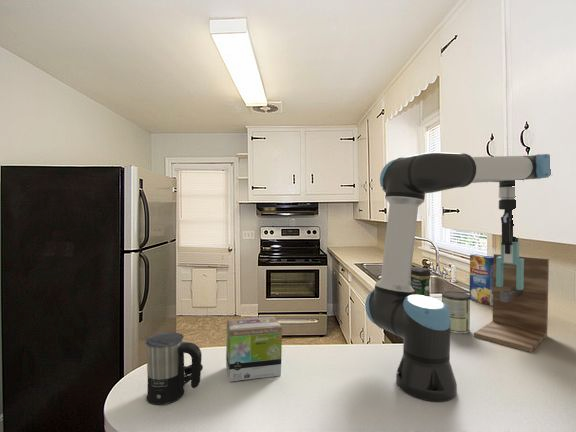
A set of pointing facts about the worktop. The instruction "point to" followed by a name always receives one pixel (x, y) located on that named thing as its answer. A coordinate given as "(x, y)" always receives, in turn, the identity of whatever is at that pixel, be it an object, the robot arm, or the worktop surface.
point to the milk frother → (170, 367)
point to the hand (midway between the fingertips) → (509, 261)
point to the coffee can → (458, 310)
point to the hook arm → (509, 294)
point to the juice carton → (481, 278)
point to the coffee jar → (420, 281)
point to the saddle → (515, 261)
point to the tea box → (253, 348)
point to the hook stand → (520, 307)
